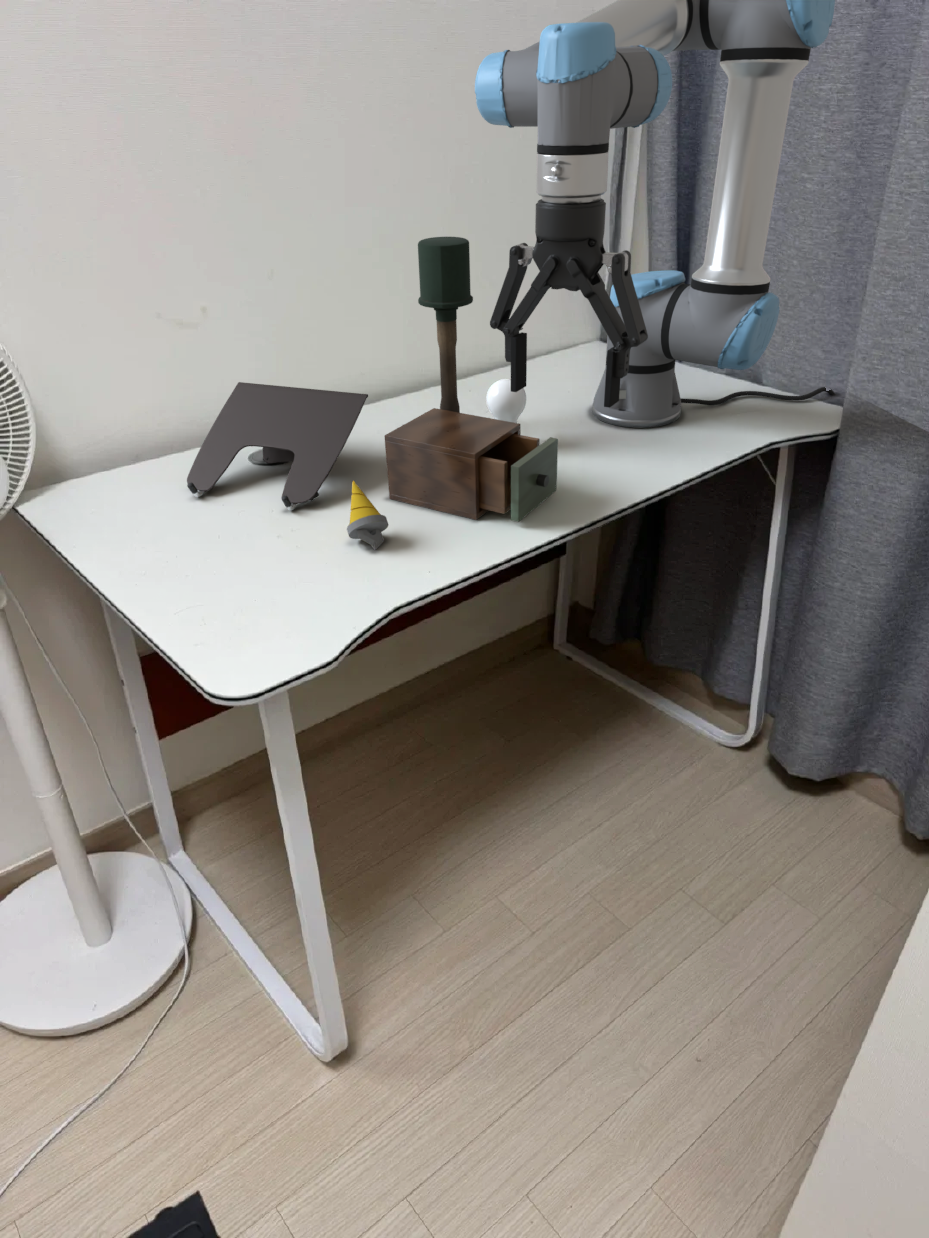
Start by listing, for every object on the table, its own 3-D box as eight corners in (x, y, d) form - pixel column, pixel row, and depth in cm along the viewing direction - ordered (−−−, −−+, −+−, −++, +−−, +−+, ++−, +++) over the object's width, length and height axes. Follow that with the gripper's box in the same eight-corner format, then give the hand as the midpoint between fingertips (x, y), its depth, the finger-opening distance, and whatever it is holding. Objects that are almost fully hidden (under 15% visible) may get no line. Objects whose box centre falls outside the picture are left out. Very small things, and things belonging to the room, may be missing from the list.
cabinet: (520, 486, 126) (520, 423, 121) (476, 520, 117) (474, 454, 112) (436, 468, 133) (433, 407, 127) (389, 499, 124) (384, 435, 119)
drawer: (564, 492, 122) (566, 440, 118) (526, 524, 114) (527, 469, 110) (475, 473, 128) (474, 422, 124) (433, 501, 120) (431, 449, 116)
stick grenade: (477, 421, 150) (473, 235, 133) (473, 439, 142) (468, 245, 126) (429, 421, 150) (419, 236, 134) (422, 439, 143) (411, 246, 127)
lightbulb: (505, 436, 143) (505, 370, 137) (533, 445, 139) (535, 378, 133) (478, 447, 140) (477, 380, 134) (507, 457, 136) (507, 388, 130)
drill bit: (346, 558, 110) (325, 488, 112) (375, 559, 114) (354, 491, 116) (374, 540, 107) (352, 469, 109) (403, 542, 111) (380, 473, 113)
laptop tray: (194, 522, 132) (166, 483, 125) (255, 413, 143) (233, 371, 135) (327, 542, 125) (306, 503, 118) (380, 427, 136) (364, 383, 128)
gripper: (457, 197, 95) (462, 390, 107) (665, 207, 84) (646, 421, 96) (491, 189, 100) (493, 374, 112) (691, 198, 89) (670, 401, 101)
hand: (563, 396), depth 104 cm, fingers open, 12 cm apart
